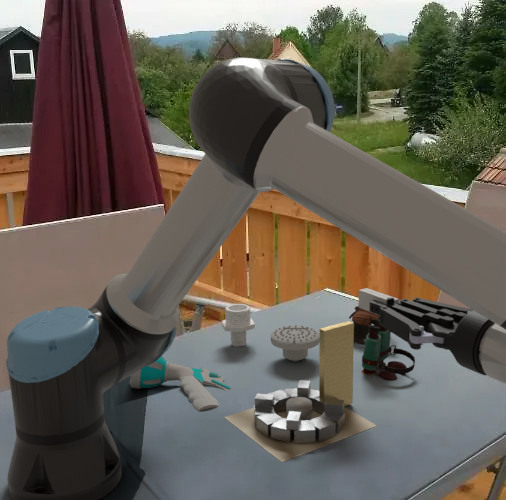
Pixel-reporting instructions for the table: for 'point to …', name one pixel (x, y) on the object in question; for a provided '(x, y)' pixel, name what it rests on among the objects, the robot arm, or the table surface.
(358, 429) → the base
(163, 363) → the garden hose nozzle
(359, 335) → the brown leather pouch
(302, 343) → the showerhead
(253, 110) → the robot arm
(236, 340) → the pipe fitting
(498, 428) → the table surface
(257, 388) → the table surface
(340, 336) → the block ring with board
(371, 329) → the binoculars
